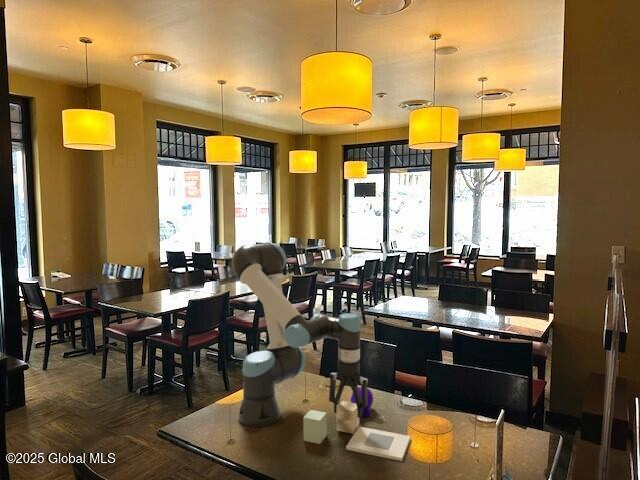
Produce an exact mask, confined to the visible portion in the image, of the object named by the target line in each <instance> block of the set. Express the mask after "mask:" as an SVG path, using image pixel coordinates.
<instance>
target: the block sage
mask: <svg viewBox="0 0 640 480" xmlns="http://www.w3.org/2000/svg"><path fill="white" fill-rule="evenodd" d="M327 413H328V412H324V411H319V410H313V409H309V411H308V412H306V414H305V415H304V416H303V418H302V419H303V421H302V423H303V426H302V427H303V431H302V432H303V433H302V434H303V441H304V442H310V443H315V444H318V445H321V444H322V443H323V441H324V440H325V438H326V437H327V435H328V431H327V429H328V428H327V427H328V424H327V423H328V422H327V421H328V417H327V415H328V414H327Z"/></svg>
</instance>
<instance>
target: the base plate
mask: <svg viewBox="0 0 640 480" xmlns="http://www.w3.org/2000/svg"><path fill="white" fill-rule="evenodd" d="M411 439H412V438H411V435H405V434H400V433H395V432H391V431H384V430H380V429H374V428H368V427H364V426H358V427H357V429H356V430H355V432H354V433H353V434H352V437H351V438H350V440H349V442H348V443H347V444H346V446H345V449H346V450H348V451H351V452H352V451H353V452H357V453H362V454H366V455H371V456H375V457H379V458H380V457H381V458H386V459H389V460H390V459H391V460H395V461H400V462H403V459H404V457H405V454H406V452H407V449H408V446H409V445H410V441H411Z"/></svg>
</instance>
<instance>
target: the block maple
mask: <svg viewBox="0 0 640 480" xmlns="http://www.w3.org/2000/svg"><path fill="white" fill-rule="evenodd" d="M356 407H357V405H356V403H351V401H346V400H345V401H344V400H342V401H341V404H340V405H339V406H338V407H337V413H336V416H337V423H336V431H339V432H343V433H347V434H352V435H354V433H355V432H356V430H357V429H358V427H357V428H356V427H355V408H356Z"/></svg>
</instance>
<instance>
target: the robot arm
mask: <svg viewBox="0 0 640 480" xmlns="http://www.w3.org/2000/svg"><path fill="white" fill-rule="evenodd" d="M286 264H287V255H286V252H285V250H284V248H283V247H281V245H279V244H277V243H275V242H274V243H273V242H270V243H269V242H265V243H256V244H244V245H242V246H241V247H239V248H238V249H237V250H236V251H235V252H234V253H233V256H232V259H231V266H232V267H231V268H232V271H233V273H234V275H235V276H236V278H237V280H238V281H240V283H241V284H243V285H246V286H247V287H248V288H249V289H250V290H251V292H252V293H253V294H254V295H255V296H256V298H257V299H258V301H260V302H261V303H262V307H263V312H264V317H265V323H266V328H267V333H268V337H269V338H268V339H269V344H268V345H267V347H266V350H260V351H254V352H252V353H250V354H248V355H247V356H246V357H245V358H244V359H243V361H242V369H241V370H242V371H241V372H242V390H243V392H242V393H243V394H242V397H243V398H242V401H241V404H240V407H239V411H238V421H239V422H240V423H241V424H242V425H245V426H247V427H253V428H255V427H257V428H258V427H259V428H260V427H267V426H269V425H272V424H275V423H276V422H277V421H278V420H279V419H280V418H281V411H280V407H279V404H278V401H277V398H276V388H275V387H276V385H278V384H280V383H283V382H285V381H287V380H290V379H294V378H295V377H296V376H298V375H301V373H302V372H303V370H304V369H305V367H306V355H305V352H304V350H302V347H305V346H307V345H310V344H312V343H314V342H318V341H321V340H325V339H327V338H329V339H332V340H335V341H336V340H337V342H338V344H337V345H338V348H337V350H338V351H337V352H338V354H337V355H338V357H337V358H338V359H337V372H333V371H332V372H331V373H330V374H329V376H328V377H329V383H330V384H329V396H328V401H329V402H330V403H333V412H334V413H335V414H337V407H338V406H339V405H340V404H341V402H342V401H341V397H342V395H343V394H342V393H343V392H344V388H345V387H350V389H351V391H352V393H353V394H354V398H355V401H356V405H357V407H356V408H355V427H356V428H357V429H358V427H359V426H360V418H361V417H363V413H362V408H366V406H367V405H368V399H367V388H368V382H369V378H368V377H366V378H365V377H363V376H362V375H361V372H360V371H361V370H360V369H361V365H360V364H361V361H360V359H361V330H362V327H361V317H360V316H359V315H358V314H356V313H349V312H348V313H341V314H340V315H339V316H338V317H336V316H332V315H327V314H324V313H322V314H321V313H315V314H313V315H312V317H311V318H310V319H309V320H307V319H306V318H305V317H304V316H303V315H302V314H301V313H300V312H299V310H297V308H296V307H295V306H294V305H293V304H292V303H291V302H290V301H289V300H288V298H287V297H286V296H285V295H284V293H283V287H282V281H281V279H282V276H283V274H284V272H283V269H284V268H285V267H286ZM337 379H338V380H339V385H338V389H337V392H336V385H337ZM358 382H360V385H361V387H362V401H361V397H360V393H359V390H358V388H359V384H358ZM340 401H341V402H340ZM335 418H336V419H335V420H336V423H335V424H337V415H336V417H335Z"/></svg>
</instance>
